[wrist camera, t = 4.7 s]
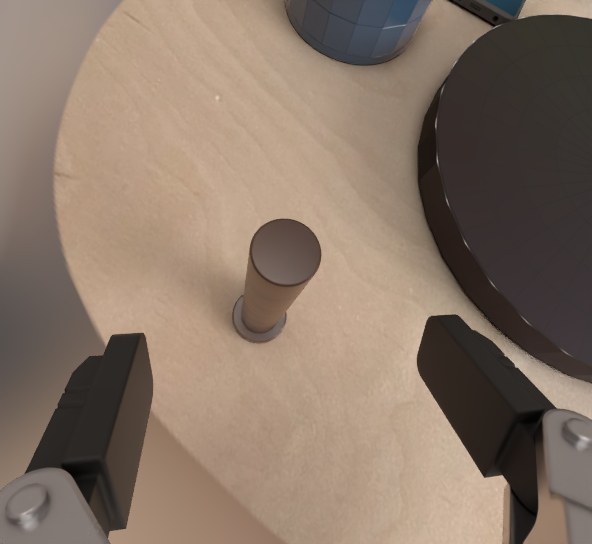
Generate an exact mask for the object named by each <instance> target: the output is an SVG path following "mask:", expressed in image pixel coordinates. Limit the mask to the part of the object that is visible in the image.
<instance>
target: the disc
mask: <svg viewBox="0 0 592 544" xmlns="http://www.w3.org/2000/svg"><path fill="white" fill-rule="evenodd" d="M418 151H419V184H420V188H421V193H422V198H423V202H424V207H425V211H426V216H427V219H428V222H429V224H430V227H431V229H432V231H433V234H434V236H435V239H436V241H437V243H438V246H439V248H440V251H441V253H442V255H443V257H444V259H445V260H446V262H447V264H448V265H449V267H450V268H451V270H452V271H453V273H454V275H455V276H456V278H457V279H458V281H459V283H460V284H461V286H462V287H463V289H464V290H465V292H466V293H467V295H468V296H469V297H470V298H471V299H472V300H473V301H474V302H475V304H476V305H477V306H478V307H479V308H480V309H481V310H482V311H483V313H484V314H485V315H486V316H487V317H488V318H489V319H490V320H491V322H492V323H493V324H494V325H495V326H496V327H497V328H498V329H500V330H501V331H502V332H503V333H505V334H506V335H507V336H508V337H510V338H511V339H512V340H513V341H515V342H516V343H517V344H518V345H519V346H521V347H522V348H523V349H524V350H526V351H527V352H528V353H529V354H531V355H532V356H534V357H536V358H538V359H540V360H541V361H543V362H545V363H547V364H549V365H550V366H552V367H554V368H556V369H558V370H559V371H561V372H563V373H565V374H567V375H569V376H572V377H575V378H578V379H581V380H584V381H587V382H590V383H592V19H589V18H585V17H581V16H570V15H557V14H547V15H538V16H529V17H522V18H519V19H516V20H513V21H510V22H507V23H505V24H502V25H499V26H496V27H495V28H493V29H492V30H490V31H489V32H487V33H486V34H484V35H483V36H481V37H480V38H478V39H477V40H475V41H473V43H472V44H471V45H470V46H469V47H468V48H467V50H466V51H465V52H464V53H463V54H462V55H461V56H460V58H459V59H458V60H457V61H456V62H455V64H454V66H453V68H452V70H451V72H450V74H449V75H448V77H447V78H446V80H445V81H444V82H443V84H442V85H441V87H440V88H439V89H438V91H437V93H436V95H435V97H434V99H433V101H432V103H431V105H430V107H429V109H428V111H427V113H426V115H425V118H424V123H423V128H422V132H421V137H420V142H419V147H418Z"/></svg>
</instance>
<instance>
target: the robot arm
mask: <svg viewBox="0 0 592 544" xmlns="http://www.w3.org/2000/svg"><path fill="white" fill-rule="evenodd" d="M417 367H418V371H419V374H420V376H421V378H422V379H423V381H424V383H425V384H426V386H427V387H428V389H429V390H430V392H431V394H432V395H433V397H434V398H435V400H436V402H437V403H438V405H439V406H440V408H441V410H442V411H443V413H444V414H445V416H446V418H447V419H448V421H449V422H450V424H451V425H452V427H453V429H454V430H455V432H456V433H457V435H458V437H459V438H460V440H461V441H462V443H463V445H464V446H465V448H466V449H467V451H468V452H469V454H470V456H471V457H472V459H473V460H474V462H475V464H476V465H477V467H478V468H479V470H480V472H481V473H482V475H483V476H484V478H486V477H493V476H499V475H503V476H504V478H505V479H506V481H507V482H508V483H507V484H506V486H505V489H504V506H503V543H502V544H592V420H591V419H589V418H587V417H585V416H583V415H581V414H579V413H576V412H574V411H570V410H566V409H557V408H556V407H555V406H554V405H553V404H552V403H551V402H550V401H549V400H548V399H547V398H546V397H545V396H544V395H543V394H542V393H541V392H540V391H539V390H538V388H537V387H536V386H535V385H534V384H533V383H532V382H531V381H530V380H529V379H528V378H527V377H526V376H525V375H524V374H523V373H522V372H521V371H520V370H519V369H518V368H515V365H514V363H513V362H512V361H511V360H510V359H509V358H508V357H505V356H504V353H503V352H502V351H501V350H500V349H499V348H498V347H497V346H496V345H495V344H494V343H493V342H492V341H491V340H489V339H488V338H486V337H485V336H483V335H482V334H480V333H478V332H477V331H475V330H472V329H471V328H470V327H469V326H468V325H467V324H466V323H465V322H464V321H463V320H462V319H461V318H460V317H459V316H458V315H439V316H430V317H429V318H428V320H427V322H426V325H425V329H424V333H423V336H422V340H421V344H420V347H419V351H418V355H417ZM152 397H153V376H152V370H151V365H150V359H149V353H148V348H147V342H146V337H145V334H144V333H132V334H115V335H112V336H111V337H110V340H109V342H108V345H107V347H106V350H105V352H104V355H103V356H89V357H88V358H87V359H86V360H85V361H84V362H83V363H82V364H81V365H80V366H79V367H78V368H77V369H76V370H75V371H74V372H73V373H72V375H71V378H70V380H69V382H68V384H67V386H66V388H65V393H63V394H62V397H61V399H60V401H59V403H58V408H57V409H55V411H54V414H53V416H52V418H51V420H50V422H49V424H48V426H47V428H46V430H45V432H44V435H43V437H42V439H41V441H40V443H39V445H38V447H37V449H36V451H35V453H34V456H33V458H32V460H31V462H30V464H29V466H28V468H27V470H26V472H25V474H24V475H22V476H20V477H18V478H16V479H15V480H13V481H12V482H10V483H9V484H7V485H6V486H5V487H4V488H2V489H1V490H0V544H110V542H109V540H108V535H109V531H113V530H119V529H126V526H127V521H128V516H129V511H130V506H131V501H132V497H133V492H134V486H135V482H136V477H137V472H138V467H139V462H140V457H141V452H142V447H143V442H144V437H145V432H146V428H147V422H148V418H149V413H150V408H151V403H152Z"/></svg>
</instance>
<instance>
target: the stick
mask: <svg viewBox="0 0 592 544" xmlns="http://www.w3.org/2000/svg"><path fill="white" fill-rule="evenodd" d="M320 262H321V248H320V244H319V241H318V239H317V237H316V236H315V234H314V233H313V232H312V231H311V230H310V229H309V228H308V227H307V226H305V225H304V224H302V223H300V222H298V221H295V220H291V219H277V220H273V221H270V222H268V223H266V224H264V225H263V226H261V227H260V228H259V229H258V230H257V232H256V233H255V234H254V236H253V238H252V241H251V244H250V250H249V258H248V266H247V273H246V281H245V289H244V294H243V295H242V296H241V297H240V298H239V299H238V301H237V302H236V304H235V306H234V309H233V324H234V327H235V329H236V331H237V332H238V334H239V335H240V336H241V337H242V338H244V339H245V340H247V341H249V342H252V343H265V342H268V341H271V340H272V339H274V338H275V337H276V336H278V335H279V333H280V332H281V331H282V329H283V328H284V326H285V323H286V311H287V309H288V308H289V307H290V306H291V304H292V303H293V302H294V300H295V299H296V298H297V297H298V295H299V294H300V293H301V291H302V290H303V289H304V287H305V286H306V285H307V284H308V282H309V281H310V280H311V278H312V277H313V276H314V274H315V273H316V272H317V270H318V268H319V265H320Z"/></svg>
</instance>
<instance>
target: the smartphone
mask: <svg viewBox="0 0 592 544" xmlns="http://www.w3.org/2000/svg"><path fill="white" fill-rule="evenodd" d="M453 1H455V2H456V3H458V4H460V5H461V6H463V7H465V8H467V9H468V10H470V11H472V12H474V13H475V14H477V15H479V16H481V17H482V18H484V19H486V20H487V21H489V22H491V23H493V24H494V25H496V26H499V25H502V24H505V23H507V22H510V21H513V20H516V19H517V18H518V16H519V14H520V11H521V9H522V7H523V5H524V3H525V1H526V0H453Z"/></svg>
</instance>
